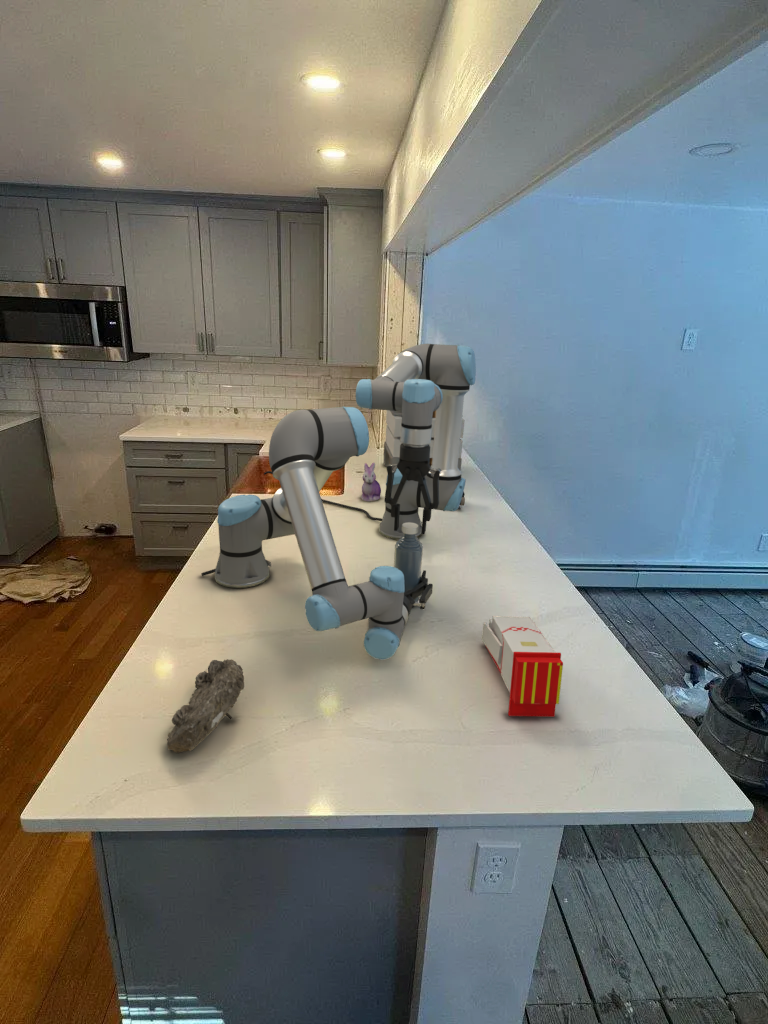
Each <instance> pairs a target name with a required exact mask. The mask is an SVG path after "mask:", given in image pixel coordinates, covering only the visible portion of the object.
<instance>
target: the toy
mask: <svg viewBox="0 0 768 1024" xmlns="http://www.w3.org/2000/svg"><path fill="white" fill-rule="evenodd" d="M481 632H482V633H481V640H482V642H483V644H484V646H485V648H486V650H487V652H488V654H489V655H490V657H491V659H492V661H493V663H494V664H495V666H496V668H497V670H498V671H499V674H500V676H501V678H502V680H503V682H504V684H505V687H506V688H507V690H508V692H509V700H508V702H509V703H508V710H507V711H508V712H507V715H508V717H551V718H552V717H553V718H555V716H556V707H557V705H559V704H560V698H561V697H560V695H561V688H562V687H561V686H562V678H563V669H564V662H563V661H562V653H561V652H556V651H555V649H554V648H553V647H552V645H551V644H550V643H549V641H548V639H547V638H546V637H545V635H544V634H543V633H542V631H541V630H540V629H539V628H538V626H537V624H536V622H535V621H534V620H533V619H532V617H531V616H514V615H513V616H512V615H511V616H508V615H507V616H506V615H505V616H504V615H492V618H489V620H488V623H487V621H483V623H482V631H481Z"/></svg>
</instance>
